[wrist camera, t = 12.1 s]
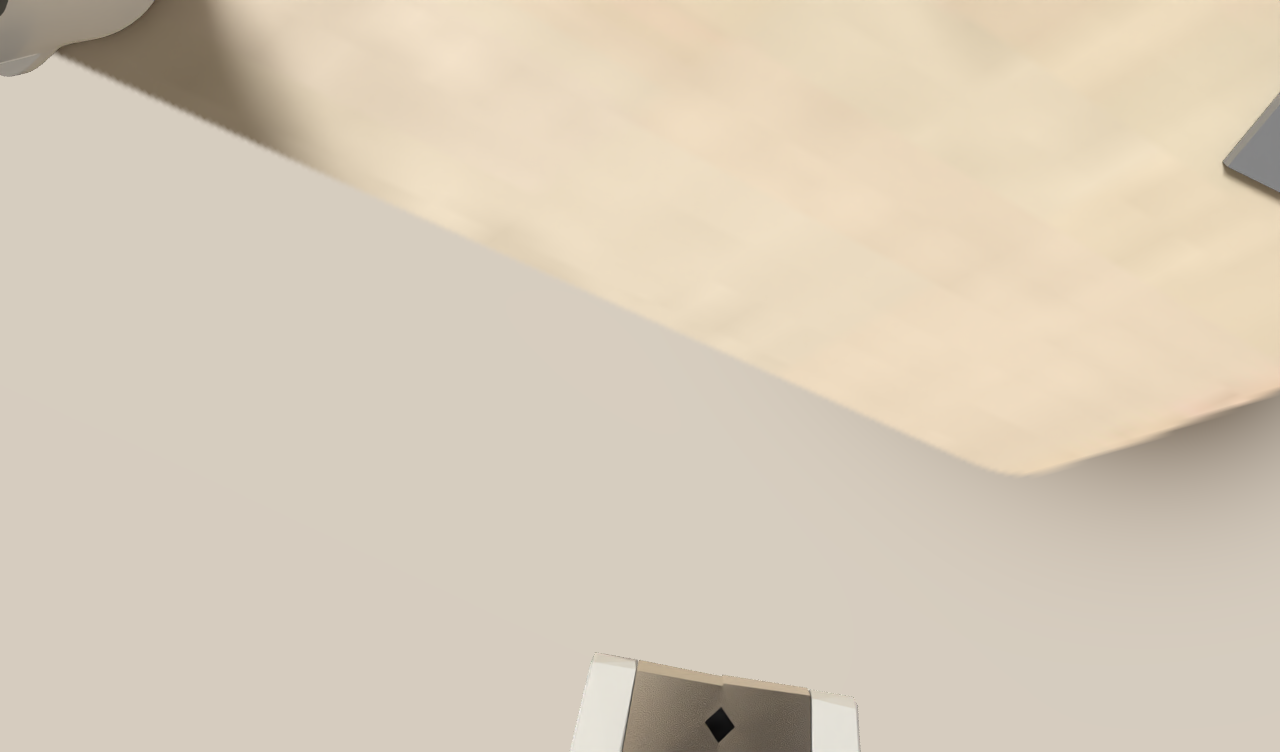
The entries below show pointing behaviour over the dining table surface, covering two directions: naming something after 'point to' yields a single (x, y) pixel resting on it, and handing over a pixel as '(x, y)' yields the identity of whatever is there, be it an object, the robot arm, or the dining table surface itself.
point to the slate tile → (1260, 149)
